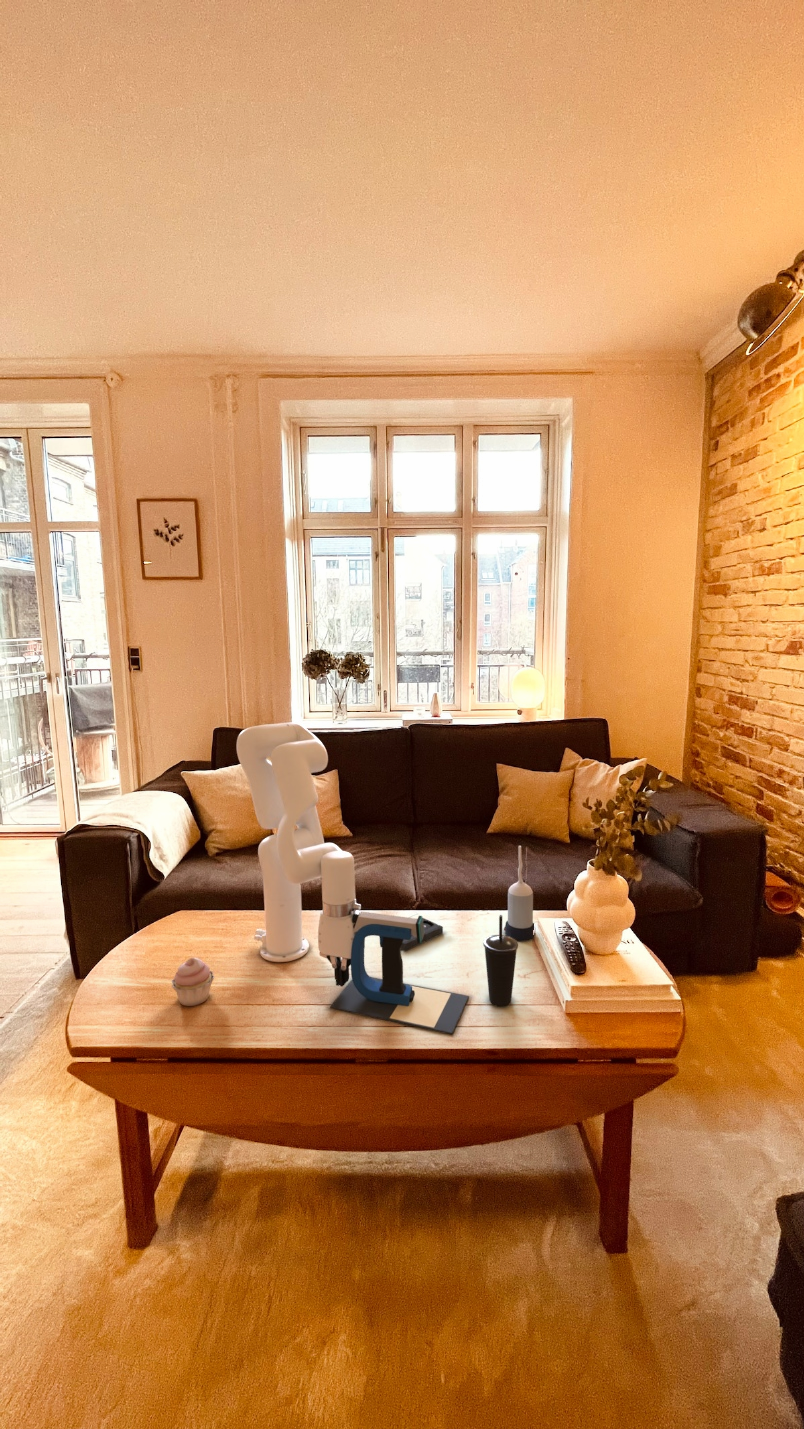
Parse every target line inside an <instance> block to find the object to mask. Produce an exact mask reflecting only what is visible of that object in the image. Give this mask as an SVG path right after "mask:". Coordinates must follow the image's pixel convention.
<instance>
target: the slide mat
mask: <svg viewBox="0 0 804 1429" xmlns="http://www.w3.org/2000/svg"><path fill="white" fill-rule="evenodd" d="M369 977H370V978H372V979H373V980H375V981H378V982H382V978H378V977H373V976H369ZM404 984H405V985H406V986H412V990H414V992H415V996H414V999H413V1001H412V1002H410V1003H409V1006H403V1005H396V1004H389V1003H383V1002H376V1001H371V1000H369V999H367V998H365V997H364V996H363V995H361V994H360V993H359V992H358V990H357V989H356V988H355V986H354V983H353V981H352V979H351V980H350V981H349V982H348V984H347V985H346V986H345V987H344V988H343V990H342V991H341V992H340V994H339V995H338V996H337V997H336V998H335V999H334V1001H333V1002H332V1003H331V1004H330V1006H329V1009H332V1010H337V1011H341V1012H346V1013H351V1014H355V1015H360V1016H364V1017H370V1018H374V1019H378V1020H382V1021H387V1022H392V1023H395V1024H401V1025H404V1026H405V1025H406V1026H410V1027H415V1028H421V1029H424V1030H429V1031H433V1032H438V1033H443V1034H446V1035H453V1034H454V1031H455V1029H456V1027H457V1025H458V1022H459V1021H460V1019H461V1016H462V1013H463V1012H464V1009H465V1008H466V1004H467V1002H468V1000H469V998H470V996H469V995H467V994H462V993H455V992H452V991H447V990H442V989H441V990H440V989H435V988H431V987H425V986H420V985H414V984H408V983H404Z"/></svg>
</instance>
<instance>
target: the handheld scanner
mask: <svg viewBox="0 0 804 1429" xmlns="http://www.w3.org/2000/svg"><path fill="white" fill-rule="evenodd" d="M423 918H424V917H423V916H422V915H418V916H417V918H415V917H406V916H399V915H392V914H391V915H390V914H383V913H376V912H366V911H360V915H359V914H353V916H352V923H355V924H354V925H353V928H354V931H353V932H357V933H356V934H355V936H354V939H353V942H352V949H351V965H350V975H351V980H352V981H353V983H354V986H355V988H356V989H357V990H358V992H359V993H360V994H361V995H363V996H364V997H365V998H367V999H369V1000H371V1001H376V1002H383V1003H389V1004H396V1005H403V1006H409V1003H410V1002H412V1001H413V999H414V996H415V992H414V990H412V986H406V985H405V984H406V983H404V963H403V962H404V961H403V957H402V949H401V945H402V943H403V940H404V939H406V940H410V939H411V936H412V935H413V936H415V937H416V938H417V943H421V941H422V939H423V936H424V924H423ZM371 936H375V937H378V938H379V945H380V946H379V947H380V948H381V979H382V982H378V981H375V980H373V979H372V978H370V977H371V976H369V975H368V972H367V971H366V966H365V948H364V945H366V943H365V942H366V938H368V937H371ZM421 944H422V943H421Z"/></svg>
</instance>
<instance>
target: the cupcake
mask: <svg viewBox="0 0 804 1429" xmlns="http://www.w3.org/2000/svg"><path fill="white" fill-rule="evenodd" d="M173 977H174V978H173V979H171V983H172V985H171V987H172V989H173V990H174V991H175V993H176V995H177V998H178V1002H179V1003H180V1004H181V1005H182V1006H185V1007H193V1006H199V1005H201V1004H204V1002H206V1000H208V998H209V996H210V991H211V987H212V983H213V981H214V979H215V976H214V971H213V970H210V966H209V965H208V964H207V963H206V962H204V961H203V960H201V959H200V958H198V957H190V958H189V959H187V961H185V962H183V963H181V964H180V965H179V966H178V968H177V970H176V973H175V975H174V976H173Z"/></svg>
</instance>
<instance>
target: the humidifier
mask: <svg viewBox="0 0 804 1429" xmlns="http://www.w3.org/2000/svg"><path fill="white" fill-rule="evenodd" d="M527 850H528V846H526V847H525V859H527V857H528V856H527V852H528V851H527ZM522 859H523V857H522V845H518V868H517V876H518V880H517V882H515V883H513V884H511V885H510V886H509V888H508V890H507V920H506V921H505V925H504V928H503V931H504V934H505V936H509V937H511V938H513V939H515V940H516V941H517V942H528V941H532V940H534V939H535V937H534V935H533V930H534V924H535V922H534V892H533V890H532V888H531V886H530V885H528V884H527V881H525V882H524V880H523V877H522V869H523V860H522ZM525 864H526V865H528V863H527V862H525ZM527 872H528V868H526V870H525V878H527V877H528V876H527Z"/></svg>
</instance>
